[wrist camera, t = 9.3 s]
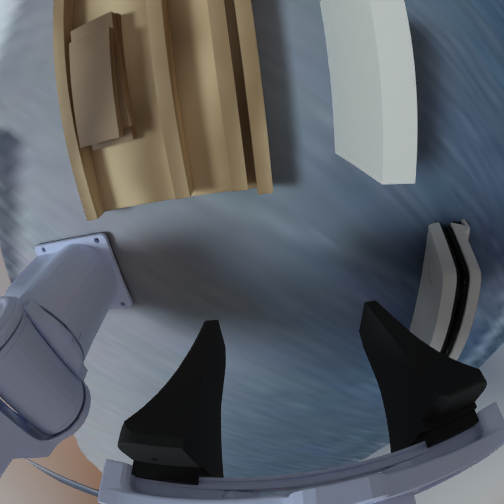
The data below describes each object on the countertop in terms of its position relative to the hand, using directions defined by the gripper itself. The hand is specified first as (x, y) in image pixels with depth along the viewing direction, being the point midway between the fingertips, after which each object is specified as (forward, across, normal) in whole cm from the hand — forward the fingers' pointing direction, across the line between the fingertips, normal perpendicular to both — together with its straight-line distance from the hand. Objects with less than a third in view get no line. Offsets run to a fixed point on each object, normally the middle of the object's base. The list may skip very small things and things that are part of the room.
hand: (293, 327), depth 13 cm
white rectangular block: (+10, -6, -12) cm, 17 cm away
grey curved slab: (+11, -16, +9) cm, 21 cm away
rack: (+10, +7, -14) cm, 19 cm away
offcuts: (+10, +11, -14) cm, 20 cm away
